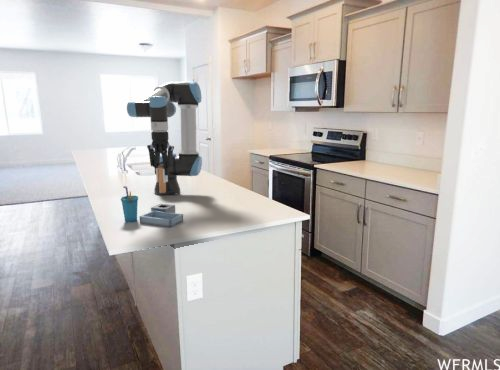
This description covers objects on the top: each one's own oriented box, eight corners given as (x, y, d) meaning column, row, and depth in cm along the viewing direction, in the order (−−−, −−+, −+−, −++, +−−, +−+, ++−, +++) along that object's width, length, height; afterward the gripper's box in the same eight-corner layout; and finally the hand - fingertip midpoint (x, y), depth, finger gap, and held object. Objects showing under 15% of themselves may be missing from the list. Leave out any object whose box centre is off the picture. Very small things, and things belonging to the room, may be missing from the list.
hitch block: (151, 215, 170) (151, 207, 169) (161, 211, 177) (161, 203, 176) (165, 217, 167) (165, 209, 166) (175, 213, 174) (175, 205, 173)
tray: (139, 222, 159) (139, 216, 158) (153, 216, 168) (153, 210, 168) (170, 227, 153) (170, 220, 153) (183, 220, 162) (183, 214, 162)
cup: (117, 217, 167) (115, 185, 164) (134, 215, 171) (132, 184, 168) (126, 225, 155) (123, 191, 152) (144, 222, 160) (142, 189, 157)
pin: (158, 192, 169) (156, 165, 166) (162, 191, 172) (160, 164, 169) (163, 193, 168) (162, 165, 165) (167, 191, 171) (166, 164, 168)
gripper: (139, 131, 163) (143, 181, 169) (170, 132, 158) (172, 184, 163) (150, 130, 170) (152, 178, 175) (179, 131, 165) (181, 181, 170)
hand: (162, 181), depth 169 cm, fingers closed on pin, 3 cm apart
